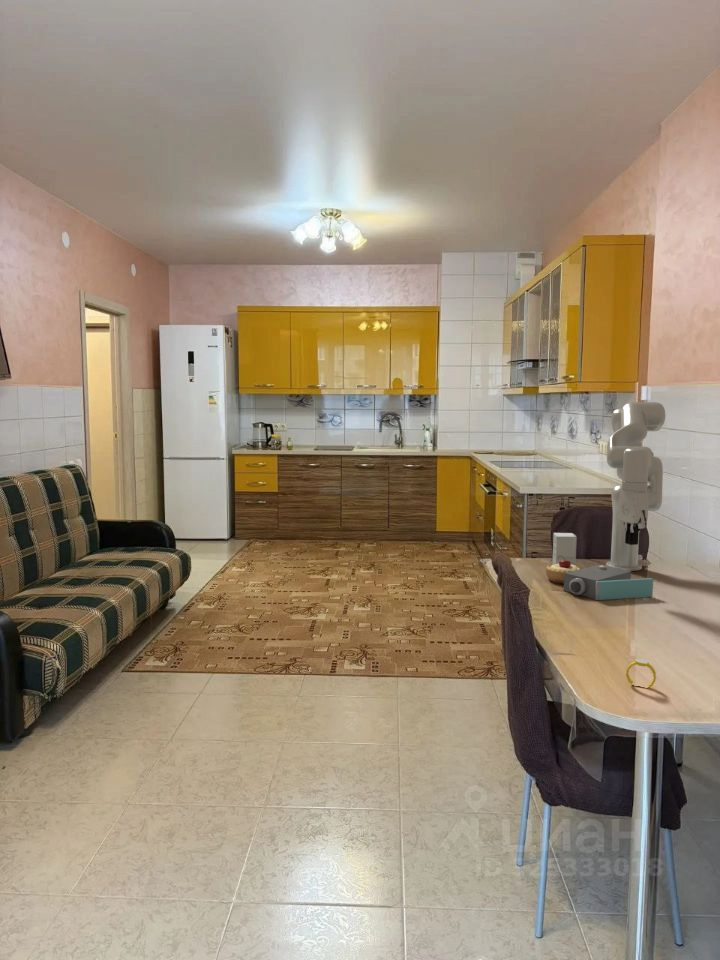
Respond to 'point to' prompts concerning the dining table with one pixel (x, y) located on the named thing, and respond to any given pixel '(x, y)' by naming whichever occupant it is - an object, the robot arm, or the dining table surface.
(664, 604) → the dining table surface
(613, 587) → the side door
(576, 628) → the dining table surface
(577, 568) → the pastry
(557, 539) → the supplement box
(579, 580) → the camera body
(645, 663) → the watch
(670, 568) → the dining table surface
